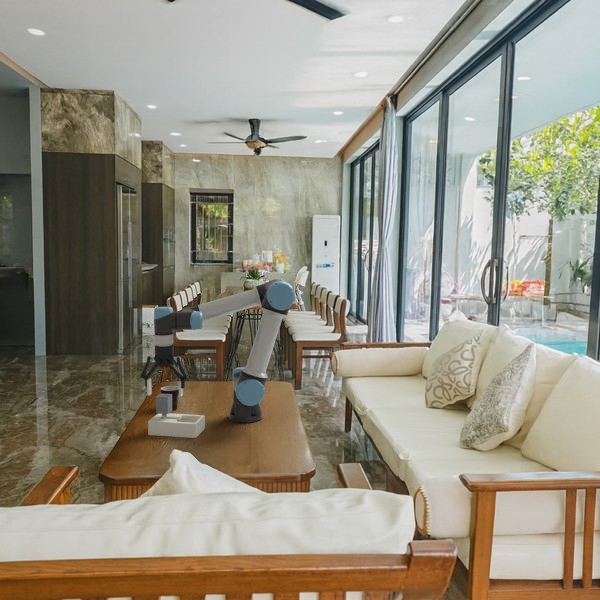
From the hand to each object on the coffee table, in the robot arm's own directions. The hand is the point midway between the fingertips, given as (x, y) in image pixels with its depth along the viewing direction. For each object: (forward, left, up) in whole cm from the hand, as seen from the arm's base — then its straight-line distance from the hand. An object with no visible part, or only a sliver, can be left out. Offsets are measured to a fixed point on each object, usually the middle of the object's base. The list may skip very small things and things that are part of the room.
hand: (165, 395), depth 230 cm
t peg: (0, 0, -14) cm, 14 cm away
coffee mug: (+9, -32, -15) cm, 37 cm away
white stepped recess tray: (-5, 0, -15) cm, 16 cm away
